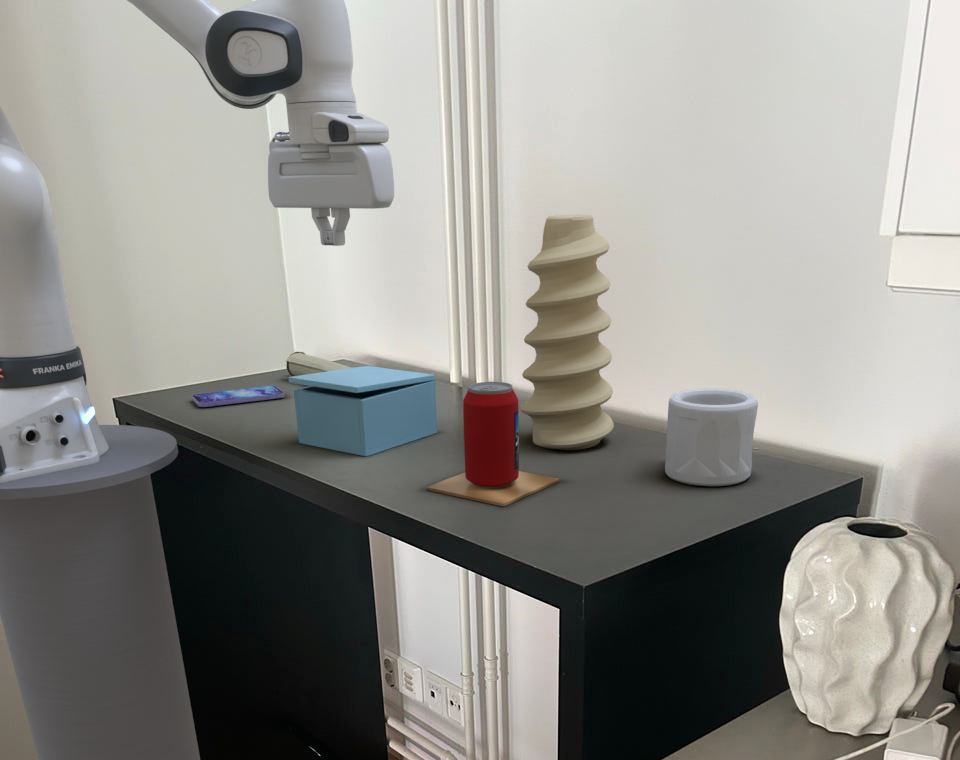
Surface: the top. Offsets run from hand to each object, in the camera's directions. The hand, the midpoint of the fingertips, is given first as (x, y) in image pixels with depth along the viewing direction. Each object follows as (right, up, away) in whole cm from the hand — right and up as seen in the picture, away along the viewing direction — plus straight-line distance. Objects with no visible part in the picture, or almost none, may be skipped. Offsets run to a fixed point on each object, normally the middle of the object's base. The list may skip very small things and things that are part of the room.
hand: (333, 245), depth 133 cm
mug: (+48, -32, -5) cm, 58 cm away
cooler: (+3, -23, +15) cm, 27 cm away
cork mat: (+21, -34, -8) cm, 41 cm away
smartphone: (-23, -11, +41) cm, 48 cm away
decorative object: (+32, -24, +10) cm, 42 cm away
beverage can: (+21, -33, -8) cm, 40 cm away
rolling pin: (-8, -7, +48) cm, 49 cm away
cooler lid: (+3, -15, +11) cm, 19 cm away
